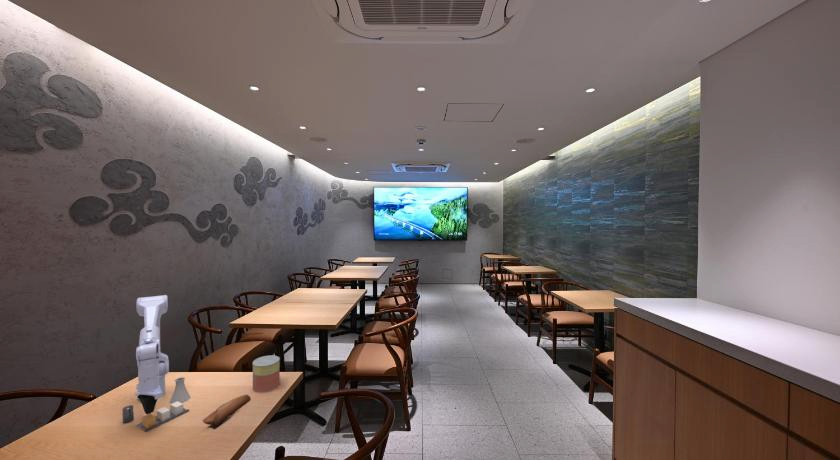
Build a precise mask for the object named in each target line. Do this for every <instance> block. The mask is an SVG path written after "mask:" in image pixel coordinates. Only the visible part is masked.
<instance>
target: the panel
mask: <svg viewBox="0 0 840 460" xmlns="http://www.w3.org/2000/svg"><path fill="white" fill-rule="evenodd" d="M189 412H190V408H188V409H186V408H184V407H183V412H181V413H179V414H177V415H175V414H173V413H171V411H170V418H168V419H166V420H164V421H161V420H159V419H157V415H155V416H156V424H155V425H153V426H151V427H149V428H146V427H144V426H143V425H142V421H141V422H140V423H137V424H135V427H137V428H138V429H140V430H142V431H143V432H145V433H147V432H151V431H152V430H153V429H154V430H155V429H156V428H158V427H160V426H162V425H164V424H166V423H168V422H171V421H173V420H176V419H177V418H179V417H181V416H183V415H186V414H188V413H189Z"/></svg>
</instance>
